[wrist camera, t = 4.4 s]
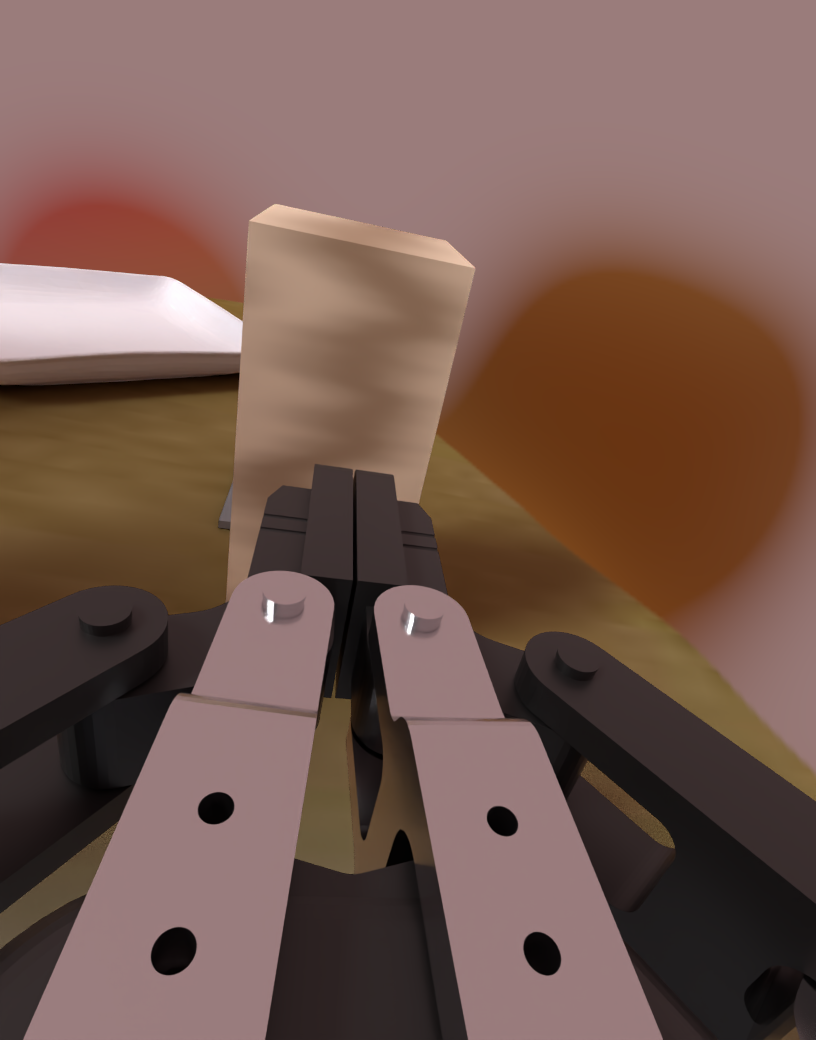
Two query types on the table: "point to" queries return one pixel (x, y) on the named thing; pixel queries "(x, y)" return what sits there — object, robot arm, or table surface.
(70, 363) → the salad plate
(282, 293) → the block
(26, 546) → the table surface
